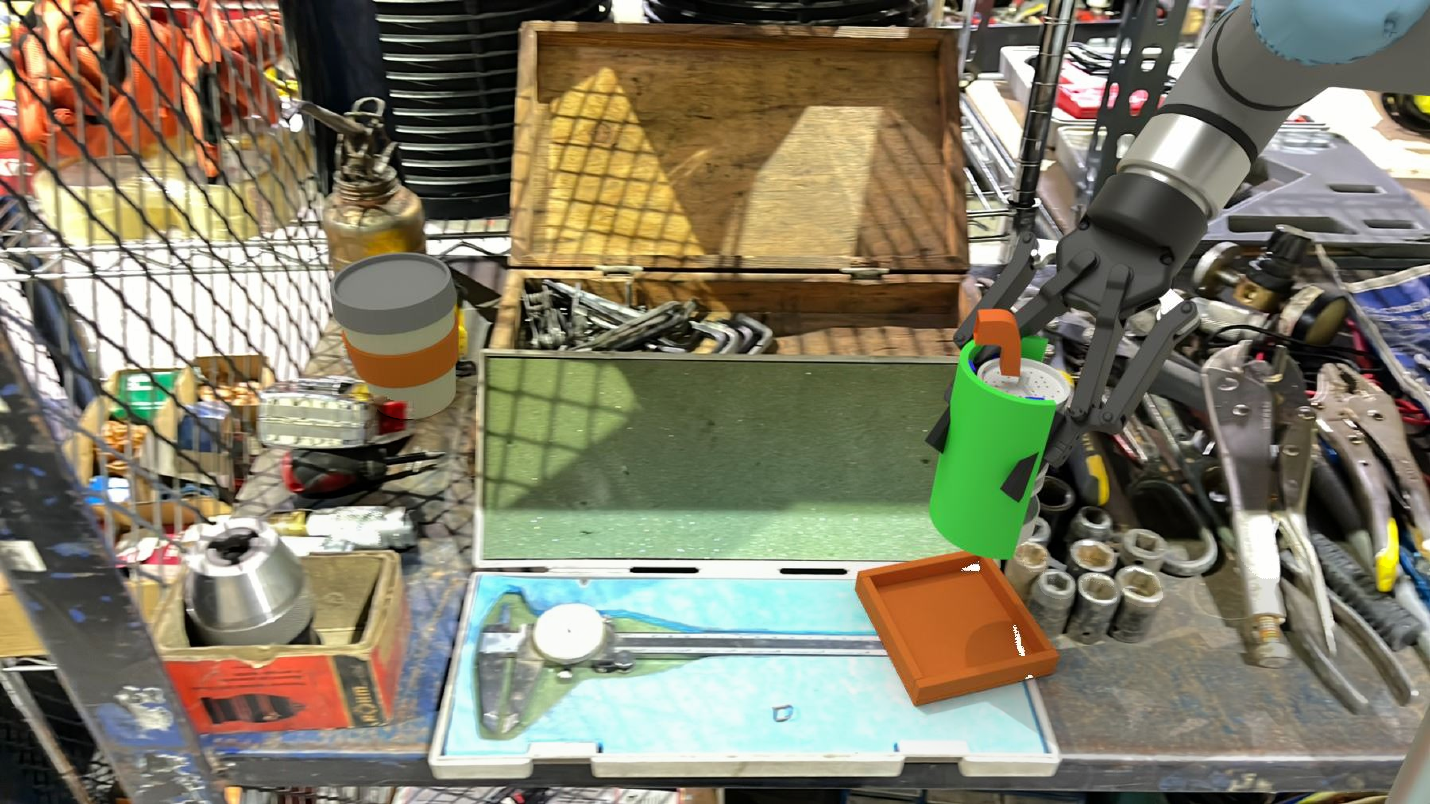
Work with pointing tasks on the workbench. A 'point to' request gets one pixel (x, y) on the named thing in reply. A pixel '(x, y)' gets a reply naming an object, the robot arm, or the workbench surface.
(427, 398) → the reusable coffee cup
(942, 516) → the green-shelled ribbed roller
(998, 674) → the shallow square tray
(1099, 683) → the workbench surface
